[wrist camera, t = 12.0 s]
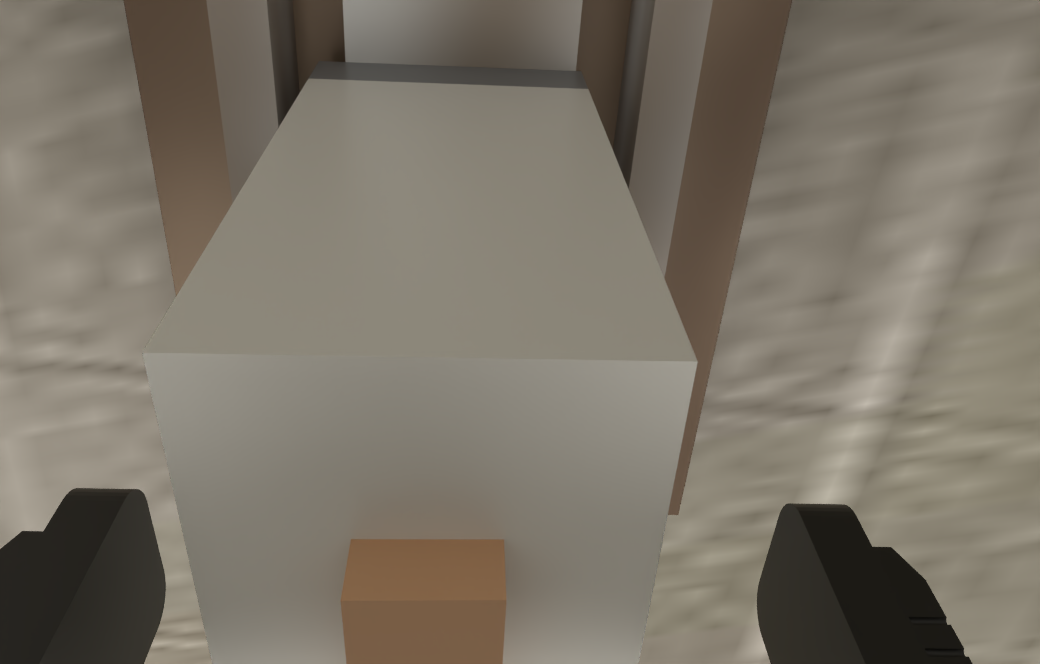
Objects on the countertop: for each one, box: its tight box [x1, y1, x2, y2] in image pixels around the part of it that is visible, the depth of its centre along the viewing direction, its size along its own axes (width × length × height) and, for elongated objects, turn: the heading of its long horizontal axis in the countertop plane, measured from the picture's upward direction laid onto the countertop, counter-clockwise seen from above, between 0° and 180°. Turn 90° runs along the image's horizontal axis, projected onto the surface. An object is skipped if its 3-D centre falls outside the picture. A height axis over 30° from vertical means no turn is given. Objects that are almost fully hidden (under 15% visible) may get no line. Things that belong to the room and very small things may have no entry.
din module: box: [142, 61, 698, 664], centre depth 13 cm, size 5×7×11 cm
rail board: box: [124, 0, 792, 515], centre depth 19 cm, size 13×18×4 cm
